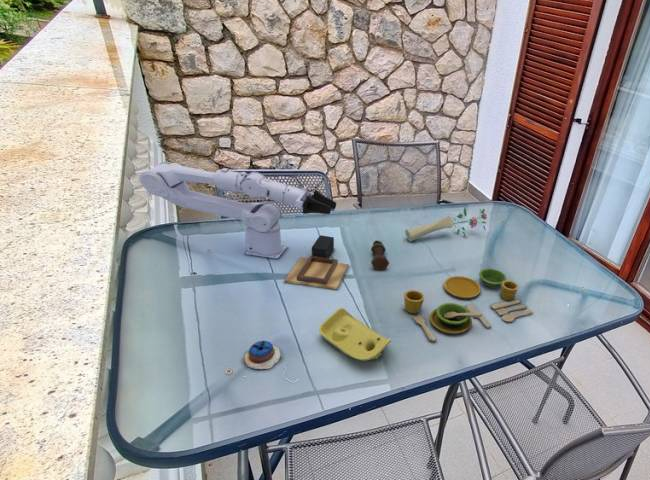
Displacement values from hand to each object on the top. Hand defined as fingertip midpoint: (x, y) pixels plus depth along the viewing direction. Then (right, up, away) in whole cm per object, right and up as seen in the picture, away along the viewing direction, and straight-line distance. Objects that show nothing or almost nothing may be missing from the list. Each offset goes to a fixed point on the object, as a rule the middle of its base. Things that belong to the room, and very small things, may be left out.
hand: (333, 208), depth 132 cm
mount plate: (-6, -21, +2) cm, 22 cm away
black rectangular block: (-8, -14, +11) cm, 20 cm away
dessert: (-4, -42, -31) cm, 52 cm away
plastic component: (+15, -41, -20) cm, 48 cm away
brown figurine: (+9, -15, +17) cm, 25 cm away
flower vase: (+29, -4, +43) cm, 52 cm away
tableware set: (+41, -30, +6) cm, 51 cm away
